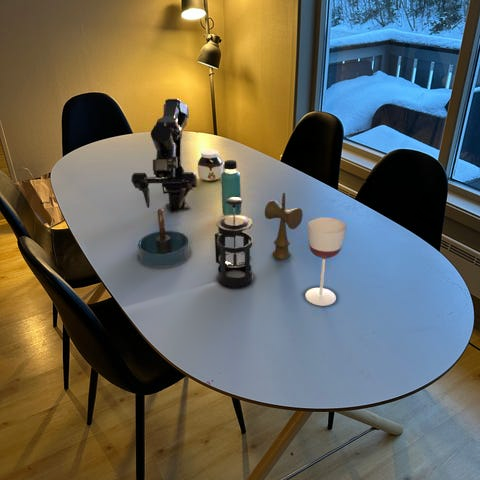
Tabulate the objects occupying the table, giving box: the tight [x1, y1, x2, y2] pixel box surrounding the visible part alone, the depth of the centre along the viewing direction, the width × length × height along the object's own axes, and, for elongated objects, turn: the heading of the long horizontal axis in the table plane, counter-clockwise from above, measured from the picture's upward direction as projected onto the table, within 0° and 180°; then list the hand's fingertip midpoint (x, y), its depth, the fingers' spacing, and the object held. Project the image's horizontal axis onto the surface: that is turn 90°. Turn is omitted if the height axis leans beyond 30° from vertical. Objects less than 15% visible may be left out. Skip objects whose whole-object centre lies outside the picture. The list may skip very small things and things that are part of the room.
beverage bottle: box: [220, 159, 242, 216], centre depth 147 cm, size 6×7×20 cm
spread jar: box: [197, 149, 228, 183], centre depth 183 cm, size 12×11×12 cm
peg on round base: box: [156, 208, 171, 254], centre depth 127 cm, size 4×4×14 cm
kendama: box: [264, 192, 304, 261], centre depth 124 cm, size 6×10×20 cm, turn 46°
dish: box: [137, 230, 190, 267], centre depth 129 cm, size 14×14×4 cm
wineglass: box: [305, 217, 347, 307], centre depth 107 cm, size 8×9×20 cm
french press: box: [214, 197, 254, 290], centre depth 114 cm, size 12×9×23 cm
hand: (163, 207), depth 130 cm, fingers open, 9 cm apart
